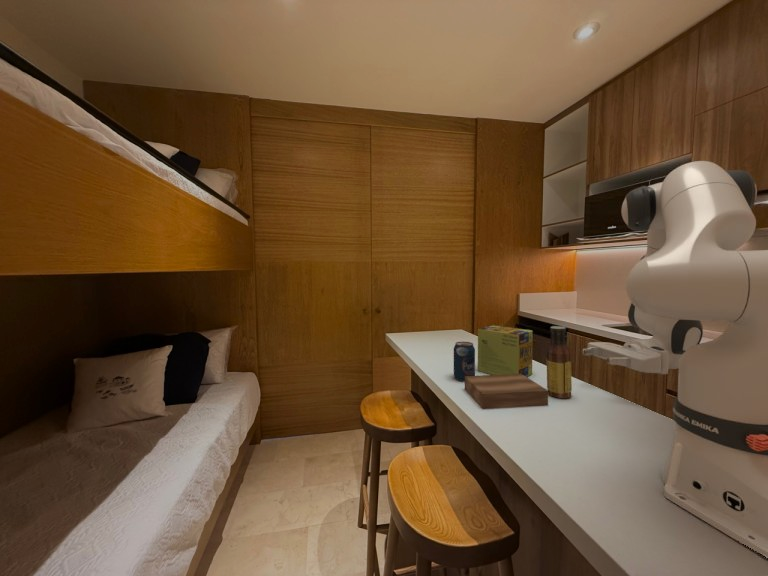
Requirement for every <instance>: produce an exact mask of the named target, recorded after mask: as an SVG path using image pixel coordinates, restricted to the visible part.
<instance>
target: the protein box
mask: <svg viewBox="0 0 768 576" xmlns="http://www.w3.org/2000/svg"><path fill="white" fill-rule="evenodd" d="M533 332H534V331H533V330H531V329H523V328H516V327H507V326H502V325H490V326H485V327H480V328H477V372H481V373H484V374H487V375H504V374H522V375H524V376H526V377H527V378H529V377H530V376H532V375H533Z"/></svg>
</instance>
